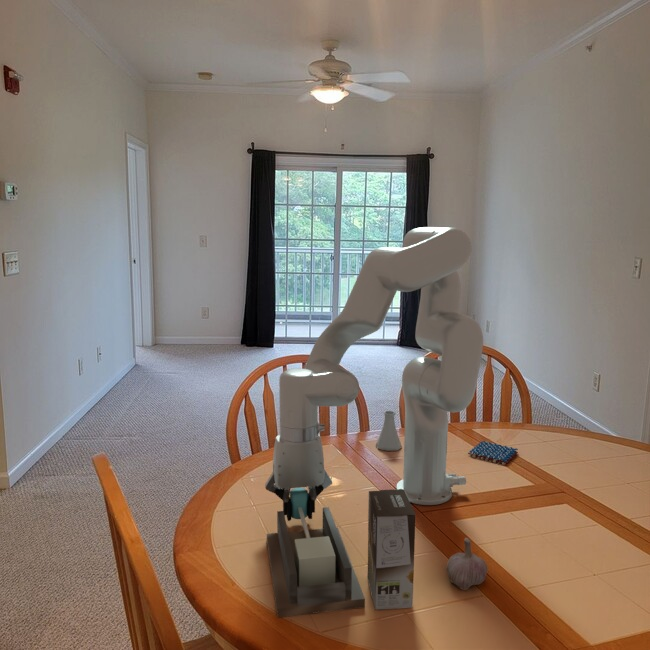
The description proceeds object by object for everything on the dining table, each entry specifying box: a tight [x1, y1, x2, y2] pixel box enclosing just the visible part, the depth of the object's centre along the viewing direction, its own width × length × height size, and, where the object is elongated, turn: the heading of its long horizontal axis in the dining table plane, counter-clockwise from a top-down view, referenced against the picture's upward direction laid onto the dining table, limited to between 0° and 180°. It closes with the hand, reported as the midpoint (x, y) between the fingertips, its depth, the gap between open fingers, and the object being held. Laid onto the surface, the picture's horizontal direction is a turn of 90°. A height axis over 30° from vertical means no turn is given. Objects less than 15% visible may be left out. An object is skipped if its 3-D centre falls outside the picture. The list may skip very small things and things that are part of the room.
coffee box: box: [366, 488, 416, 610], centre depth 93 cm, size 9×6×16 cm
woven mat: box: [467, 440, 519, 466], centre depth 151 cm, size 10×11×2 cm
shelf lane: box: [266, 506, 366, 618], centre depth 99 cm, size 14×22×6 cm, turn 10°
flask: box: [375, 410, 403, 452], centre depth 155 cm, size 7×7×10 cm
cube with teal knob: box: [289, 487, 335, 587], centre depth 104 cm, size 6×25×5 cm, turn 10°
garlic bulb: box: [446, 537, 488, 591], centre depth 96 cm, size 8×7×8 cm
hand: (299, 515), depth 115 cm, fingers closed on cube with teal knob, 3 cm apart
